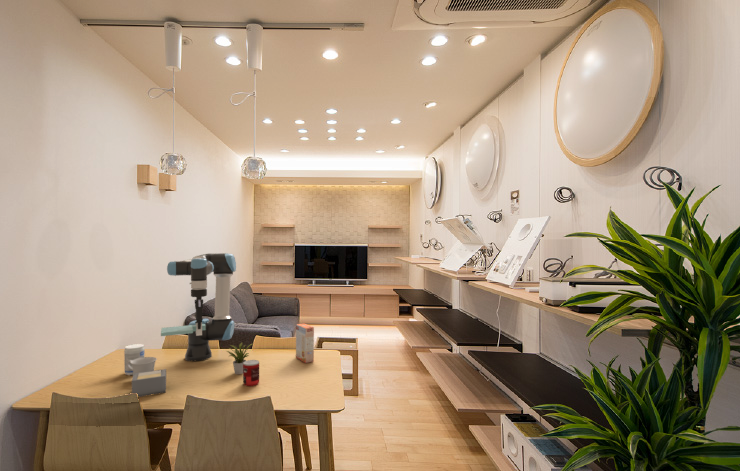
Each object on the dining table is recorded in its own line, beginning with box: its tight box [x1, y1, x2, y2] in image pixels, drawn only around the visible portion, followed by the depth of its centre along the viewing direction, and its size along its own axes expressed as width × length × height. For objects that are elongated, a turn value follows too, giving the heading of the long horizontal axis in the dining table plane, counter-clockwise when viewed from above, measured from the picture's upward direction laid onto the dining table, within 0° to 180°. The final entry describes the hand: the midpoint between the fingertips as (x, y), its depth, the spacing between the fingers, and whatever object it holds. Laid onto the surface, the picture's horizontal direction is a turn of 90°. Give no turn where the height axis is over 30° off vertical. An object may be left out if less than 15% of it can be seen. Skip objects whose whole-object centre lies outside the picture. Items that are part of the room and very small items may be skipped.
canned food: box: [242, 359, 260, 387], centre depth 199 cm, size 8×8×11 cm
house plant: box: [226, 342, 253, 375], centre depth 216 cm, size 14×14×16 cm
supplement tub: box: [123, 343, 145, 376], centre depth 214 cm, size 10×10×15 cm
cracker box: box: [295, 322, 315, 364], centre depth 237 cm, size 14×6×21 cm, turn 34°
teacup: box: [127, 356, 158, 374], centre depth 205 cm, size 12×15×10 cm
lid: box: [160, 324, 206, 337], centre depth 196 cm, size 20×12×2 cm, turn 117°
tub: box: [131, 368, 167, 398], centre depth 189 cm, size 14×11×8 cm
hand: (198, 334), depth 199 cm, fingers closed on lid, 4 cm apart
